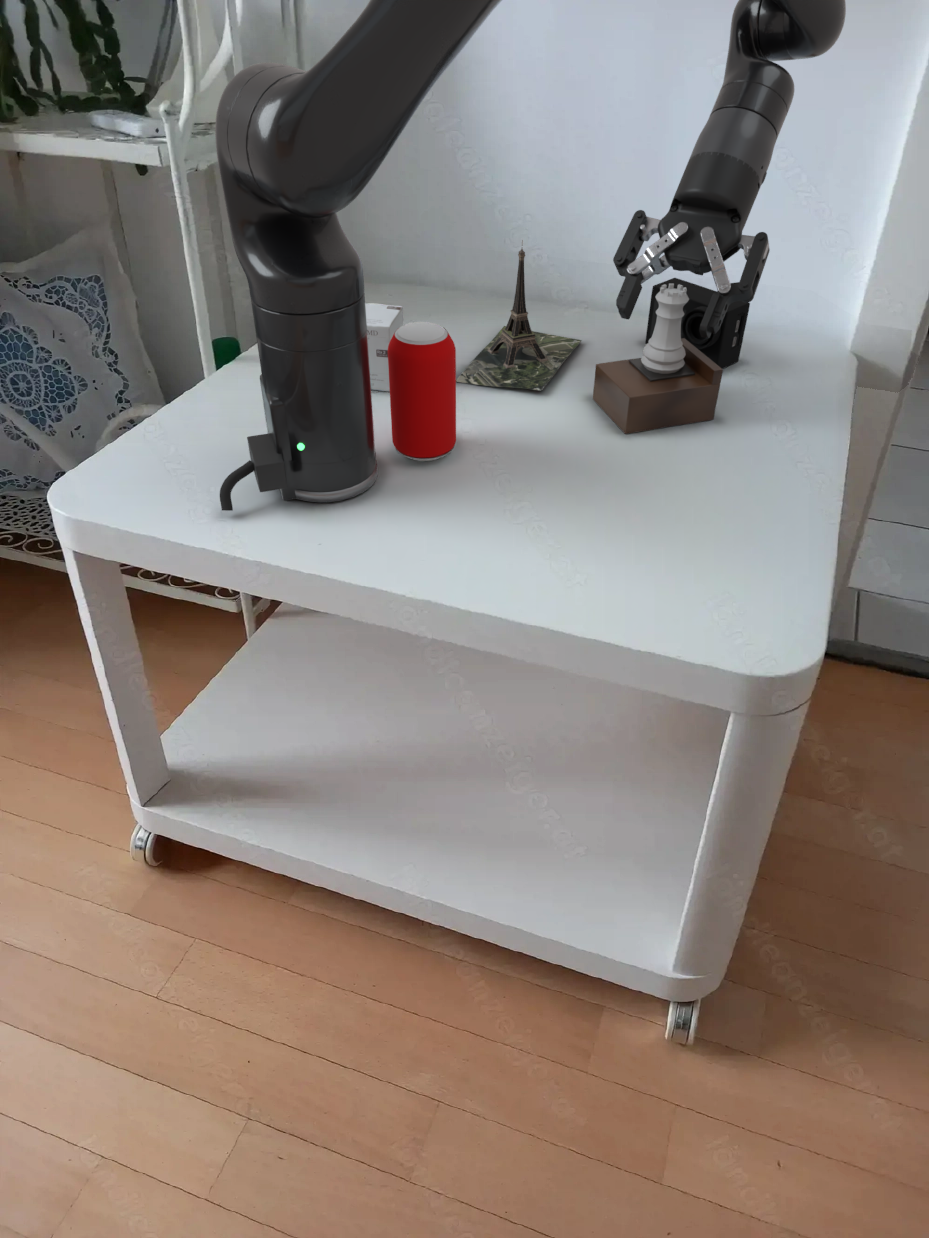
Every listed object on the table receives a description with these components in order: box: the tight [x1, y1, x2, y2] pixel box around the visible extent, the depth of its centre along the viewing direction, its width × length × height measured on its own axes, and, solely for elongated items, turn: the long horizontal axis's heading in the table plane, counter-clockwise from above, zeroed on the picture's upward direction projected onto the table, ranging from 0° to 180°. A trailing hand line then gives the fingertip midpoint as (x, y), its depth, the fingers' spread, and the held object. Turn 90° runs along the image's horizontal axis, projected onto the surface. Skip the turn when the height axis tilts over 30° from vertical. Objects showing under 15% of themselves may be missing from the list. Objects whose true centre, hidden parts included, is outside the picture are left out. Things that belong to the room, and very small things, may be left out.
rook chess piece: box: [640, 284, 689, 374], centre depth 94 cm, size 4×4×8 cm
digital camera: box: [644, 277, 751, 370], centre depth 106 cm, size 10×5×7 cm, turn 42°
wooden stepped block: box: [592, 338, 724, 435], centre depth 96 cm, size 10×8×6 cm
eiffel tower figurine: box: [456, 239, 583, 391], centre depth 102 cm, size 15×10×13 cm
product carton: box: [365, 302, 404, 392], centre depth 101 cm, size 6×6×7 cm
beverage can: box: [388, 321, 457, 462], centre depth 87 cm, size 6×6×12 cm
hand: (662, 325), depth 92 cm, fingers open, 8 cm apart
